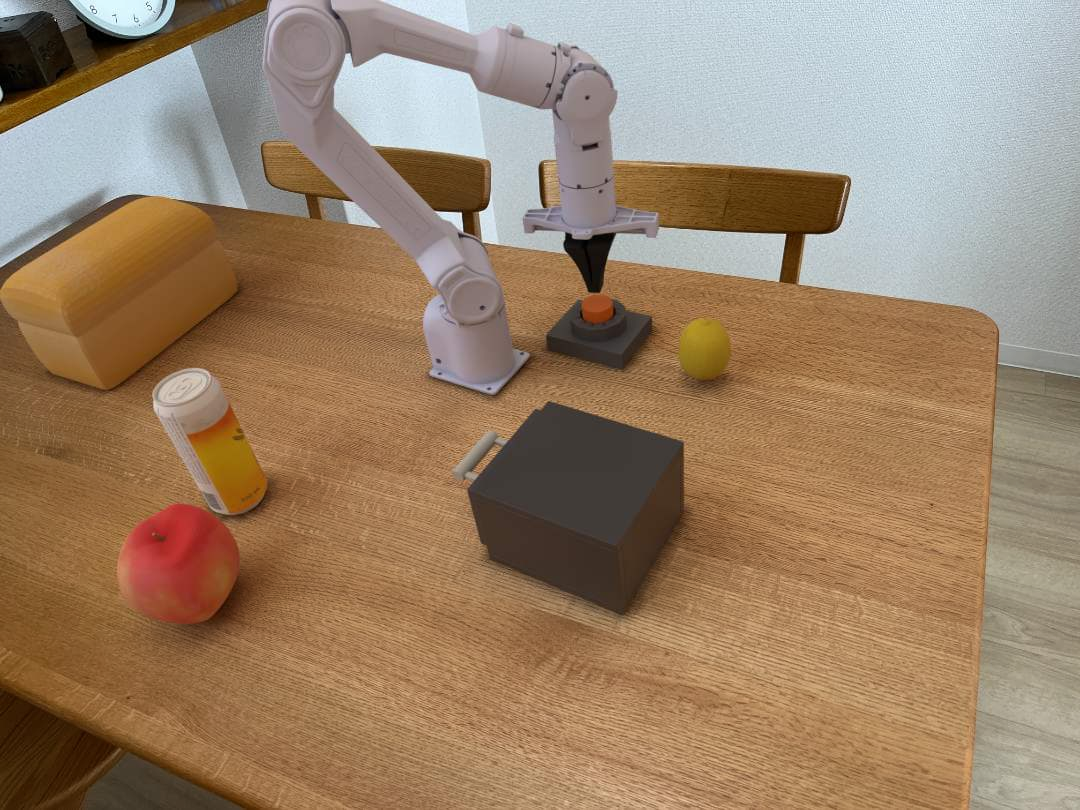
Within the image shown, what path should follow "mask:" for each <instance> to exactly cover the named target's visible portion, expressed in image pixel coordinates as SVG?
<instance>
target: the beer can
mask: <svg viewBox="0 0 1080 810" xmlns="http://www.w3.org/2000/svg"><path fill="white" fill-rule="evenodd" d="M151 395H152V399H153V401H152V405H153V406H152V407H153V410H154V413H155V414H156V416H157V418H158V419H159V422H160V423H161V424H162V427H163V428H164V430H165V431H166V433H167V435H168V437H169V439H170V440H171V442H172V445H174V447H175V449H176V451H177V453H178V455H179V456H180V458H181V459H182V461H183V464H184V465H185V467H186V468H187V470H188V472H189V474H190V476H191V477H192V478H193V480H194V482H195V484H196V486H197V487H198V490H199V491H200V492H201V494H202V496H203V498H204V500H205V501H206V503H207V504H208V506H209V508H210V510H212V511H213V512H216V513H218V514H223V515H226V516H238V515H241V514H244V513H247V512H249V511H251V510H252V509H254V508H255V507H257V506H258V504H260V502H261V501H262V500H263V498H264V497H265V494H266V491H267V489H268V479H267V477H266V475H265V472H264V471H263V469H262V466H261V464H260V463H259V461H258V459H257V457H256V455H255V453H254V450H253V448H252V446H251V444H250V442H249V440H248V438H247V436H246V434H245V432H244V430H243V428H242V426H241V423H240V422H239V419H238V418H237V415H236V413H235V412H234V409H233V408H232V406H231V405H232V404H231V403H230V401H229V399H228V397H227V396H226V392H224V389H223V387H222V385H221V383H220V381H219V379H218V378H216V377H215V376H213V375H212V374H211V373H210V372H209V371H208V370H206V369H205V368H201V367H192V368H184V369H180V370H178V371H175V372H172V373H170V374H169V375H167V376H166V377H164V378H163V379H162V380H160V381H159V382H158V383H156V386H155V387H154V388H153V390H152V394H151Z"/></svg>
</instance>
